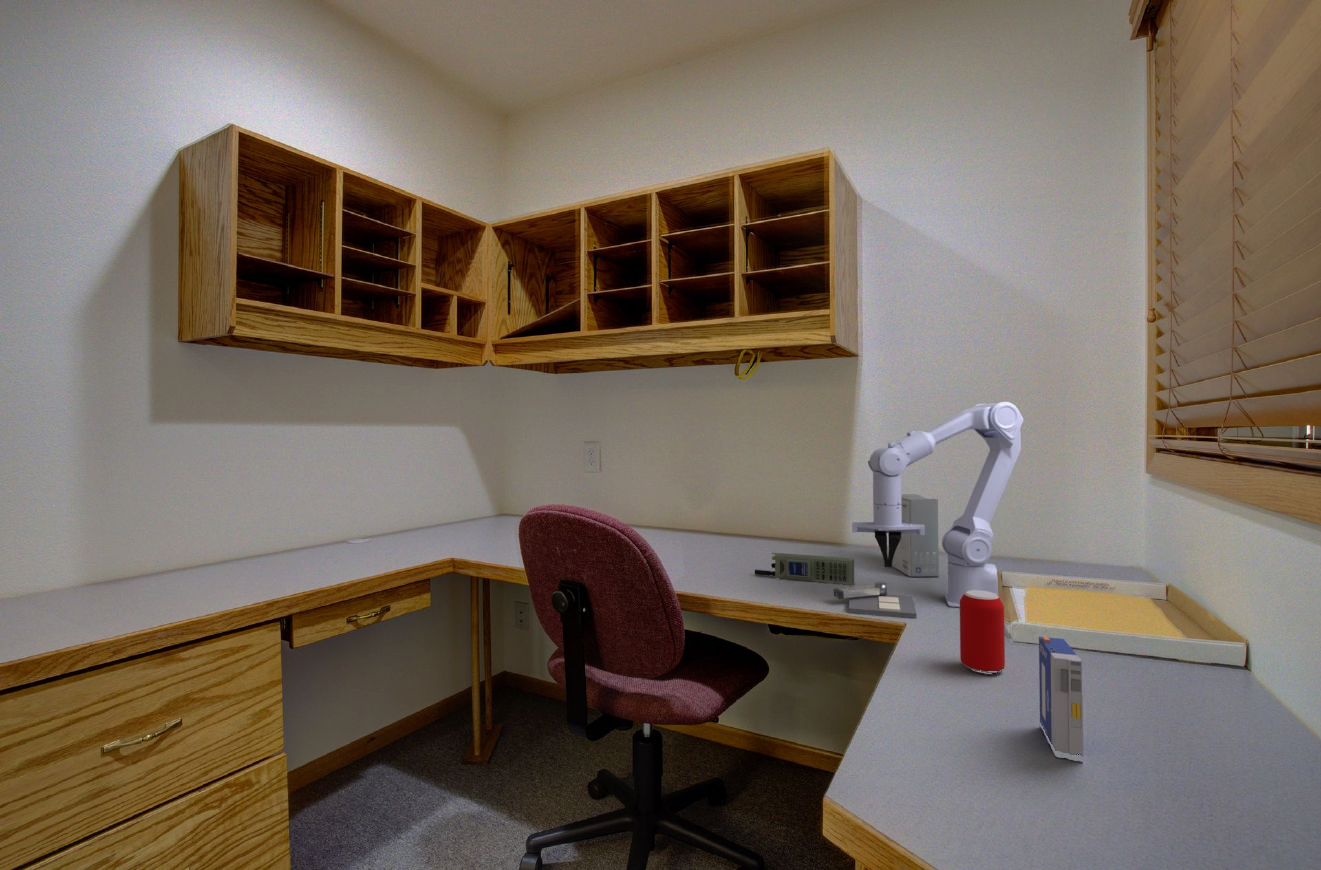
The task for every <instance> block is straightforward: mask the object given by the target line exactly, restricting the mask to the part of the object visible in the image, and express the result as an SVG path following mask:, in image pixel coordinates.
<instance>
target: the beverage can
mask: <svg viewBox="0 0 1321 870" xmlns="http://www.w3.org/2000/svg"><path fill="white" fill-rule="evenodd" d="M1005 644H1006V643H1005V605H1004V602H1002V600H1001V598H1000V596H999V594H998V595H996V594H995V593H992V592H988V591H981V590H970V591H967V592H965V593H964V595H963V596H962V598H961V599H960V607H959V648H960V649H959V653H960V654H959V655H960V657H959V659H960V662H961V663H962V665H964V667H966V668H967V667H968V669H969V668H970V669H973V670H975V671H980V670H981V672H986V673H996V674H998V673H1001V672H1003V671H1004V669H1005V666H1006V664H1005V663H1006V662H1005V661H1006V660H1005V659H1006V658H1005V656H1006V655H1005V654H1006V652H1005V651H1006V649H1005V648H1006V647H1005V646H1006V645H1005ZM970 669H969V670H970ZM1002 669H1003V670H1002ZM1000 670H1001V671H1000ZM988 671H997V672H998V673H997V672H988Z"/></svg>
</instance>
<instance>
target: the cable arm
mask: <svg viewBox="0 0 1321 870" xmlns="http://www.w3.org/2000/svg"><path fill="white" fill-rule="evenodd" d="M871 595H880V596H885V595H888V584H887V583H886V582H882V581H878V582H877V581H876V582H874V585H869V586H868V585H867V586H865V585H864V586H857V587H846V588H845V587H843V588H837V587H836V588H833V597H834V598H836V599H839V600H841V599H842V600H844V599H848V598H849V599H850V597H861V596H871Z"/></svg>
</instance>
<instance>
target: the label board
mask: <svg viewBox="0 0 1321 870" xmlns="http://www.w3.org/2000/svg"><path fill="white" fill-rule="evenodd" d="M913 598H914V597H913V596H912V595H897V594H887V595H885V596H880V595H871V596H861V597H850V598H849V601H848V602H849V604H848V614H857V615H866V614H867V615H868V616H869V615H870V616H881V617H892V618H902V619H903V618H904V619H915V618H917V609H916V607H915V602H914V599H913ZM917 619H918V618H917Z"/></svg>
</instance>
